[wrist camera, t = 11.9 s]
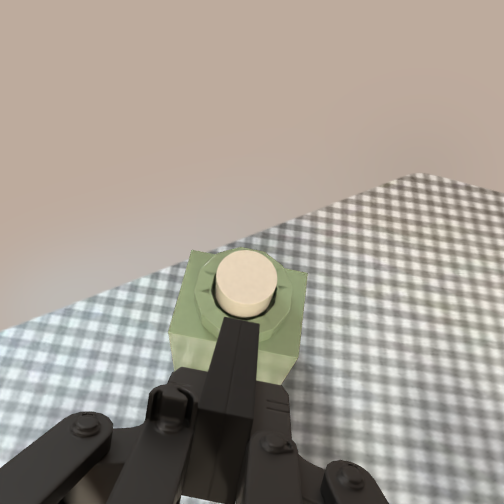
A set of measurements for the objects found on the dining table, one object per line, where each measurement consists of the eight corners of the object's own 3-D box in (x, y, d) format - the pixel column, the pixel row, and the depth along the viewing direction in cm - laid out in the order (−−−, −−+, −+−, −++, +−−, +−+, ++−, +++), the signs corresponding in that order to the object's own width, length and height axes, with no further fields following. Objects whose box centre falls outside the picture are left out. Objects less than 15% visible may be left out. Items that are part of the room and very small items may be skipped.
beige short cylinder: (276, 272, 34) (281, 256, 32) (267, 323, 32) (273, 309, 30) (221, 261, 34) (222, 244, 32) (209, 312, 32) (210, 297, 30)
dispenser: (284, 325, 47) (313, 260, 35) (274, 395, 43) (304, 349, 31) (192, 307, 47) (191, 235, 35) (174, 375, 43) (166, 321, 31)
